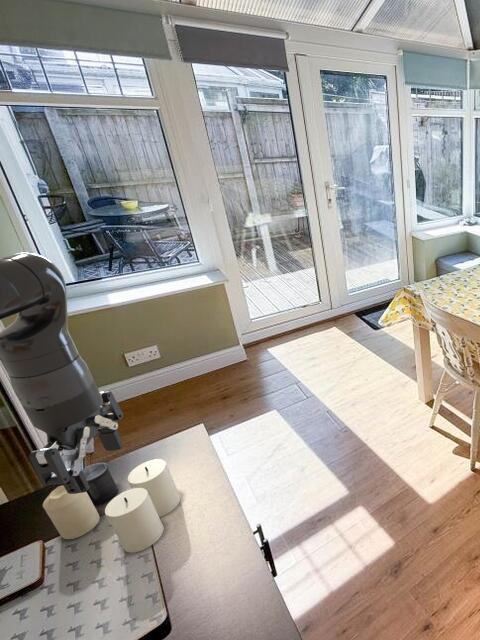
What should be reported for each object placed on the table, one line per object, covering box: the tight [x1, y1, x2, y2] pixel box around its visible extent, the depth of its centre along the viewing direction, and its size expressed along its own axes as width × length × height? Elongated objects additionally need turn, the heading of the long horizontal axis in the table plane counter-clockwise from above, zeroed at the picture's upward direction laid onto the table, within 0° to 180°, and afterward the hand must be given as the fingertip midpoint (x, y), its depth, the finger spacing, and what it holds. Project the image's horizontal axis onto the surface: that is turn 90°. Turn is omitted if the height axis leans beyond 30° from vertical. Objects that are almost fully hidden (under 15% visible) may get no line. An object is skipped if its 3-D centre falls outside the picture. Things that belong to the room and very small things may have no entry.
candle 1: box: [42, 485, 100, 540], centre depth 79 cm, size 6×6×10 cm
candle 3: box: [104, 488, 165, 554], centre depth 77 cm, size 6×6×11 cm
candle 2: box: [127, 458, 181, 518], centre depth 84 cm, size 6×6×11 cm
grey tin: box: [80, 462, 119, 506], centre depth 86 cm, size 5×5×7 cm
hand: (98, 468), depth 67 cm, fingers open, 8 cm apart
